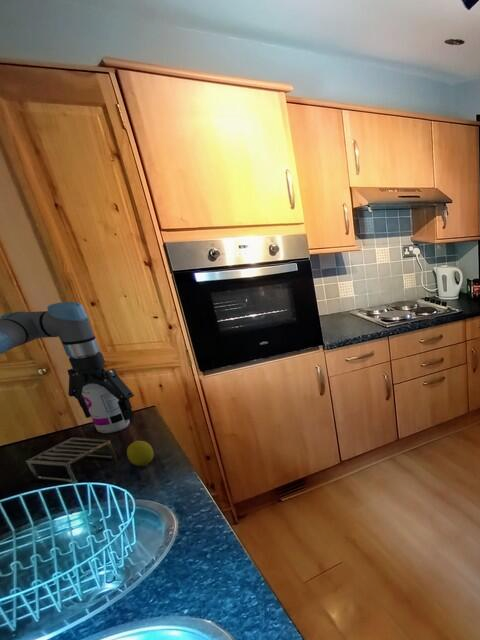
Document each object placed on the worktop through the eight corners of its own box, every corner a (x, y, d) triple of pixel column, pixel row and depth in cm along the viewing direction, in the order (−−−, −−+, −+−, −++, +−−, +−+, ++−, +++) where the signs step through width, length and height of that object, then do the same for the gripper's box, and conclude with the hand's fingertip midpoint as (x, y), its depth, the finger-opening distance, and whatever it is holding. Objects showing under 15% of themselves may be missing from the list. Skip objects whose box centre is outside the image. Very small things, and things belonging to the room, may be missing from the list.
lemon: (156, 457, 129) (147, 433, 126) (158, 466, 125) (148, 441, 122) (132, 464, 126) (122, 440, 123) (133, 473, 122) (123, 448, 119)
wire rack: (36, 483, 118) (24, 461, 115) (81, 458, 129) (72, 437, 126) (77, 487, 117) (66, 464, 114) (119, 461, 127) (110, 440, 125)
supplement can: (97, 436, 140) (79, 393, 134) (98, 426, 145) (80, 384, 139) (130, 428, 144) (114, 386, 138) (129, 419, 150) (114, 378, 144)
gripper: (133, 351, 137) (155, 413, 145) (60, 348, 139) (87, 409, 148) (110, 360, 130) (135, 425, 139) (34, 356, 133) (63, 420, 141)
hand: (110, 417), depth 143 cm, fingers open, 13 cm apart
